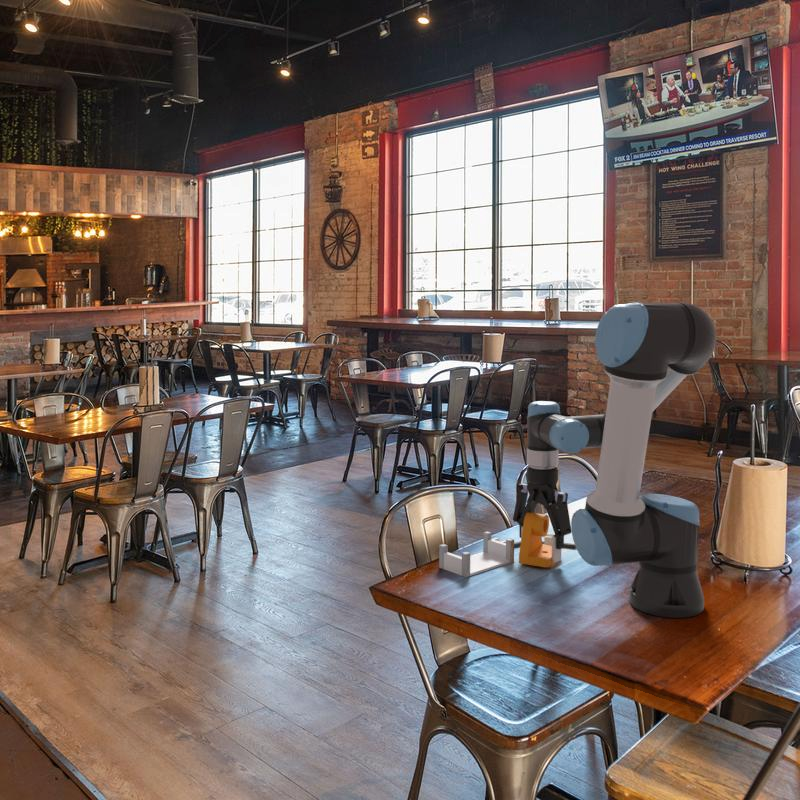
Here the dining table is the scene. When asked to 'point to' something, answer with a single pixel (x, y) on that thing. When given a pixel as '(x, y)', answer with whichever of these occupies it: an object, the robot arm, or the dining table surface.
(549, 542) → the cable route
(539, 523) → the bracket
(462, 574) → the holder
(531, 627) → the dining table surface
